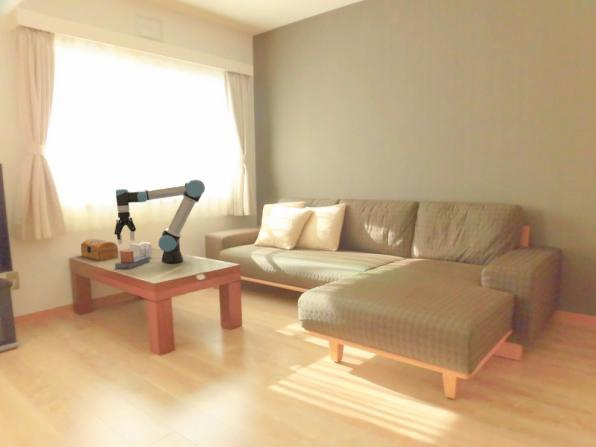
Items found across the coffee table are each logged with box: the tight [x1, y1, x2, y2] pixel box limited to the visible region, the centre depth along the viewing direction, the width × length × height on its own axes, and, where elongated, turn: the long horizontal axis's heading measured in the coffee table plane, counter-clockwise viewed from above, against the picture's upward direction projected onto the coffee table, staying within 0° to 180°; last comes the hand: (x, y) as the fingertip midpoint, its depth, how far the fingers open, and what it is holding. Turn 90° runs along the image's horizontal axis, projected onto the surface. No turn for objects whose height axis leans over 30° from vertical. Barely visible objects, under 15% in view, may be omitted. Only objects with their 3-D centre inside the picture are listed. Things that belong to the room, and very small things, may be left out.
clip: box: [119, 250, 134, 263], centre depth 287 cm, size 3×8×11 cm, turn 77°
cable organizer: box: [129, 241, 153, 258], centre depth 318 cm, size 15×11×12 cm
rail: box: [114, 256, 151, 270], centre depth 293 cm, size 24×11×4 cm, turn 167°
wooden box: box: [80, 238, 119, 262], centre depth 323 cm, size 30×16×14 cm, turn 50°
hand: (126, 242), depth 285 cm, fingers open, 13 cm apart
